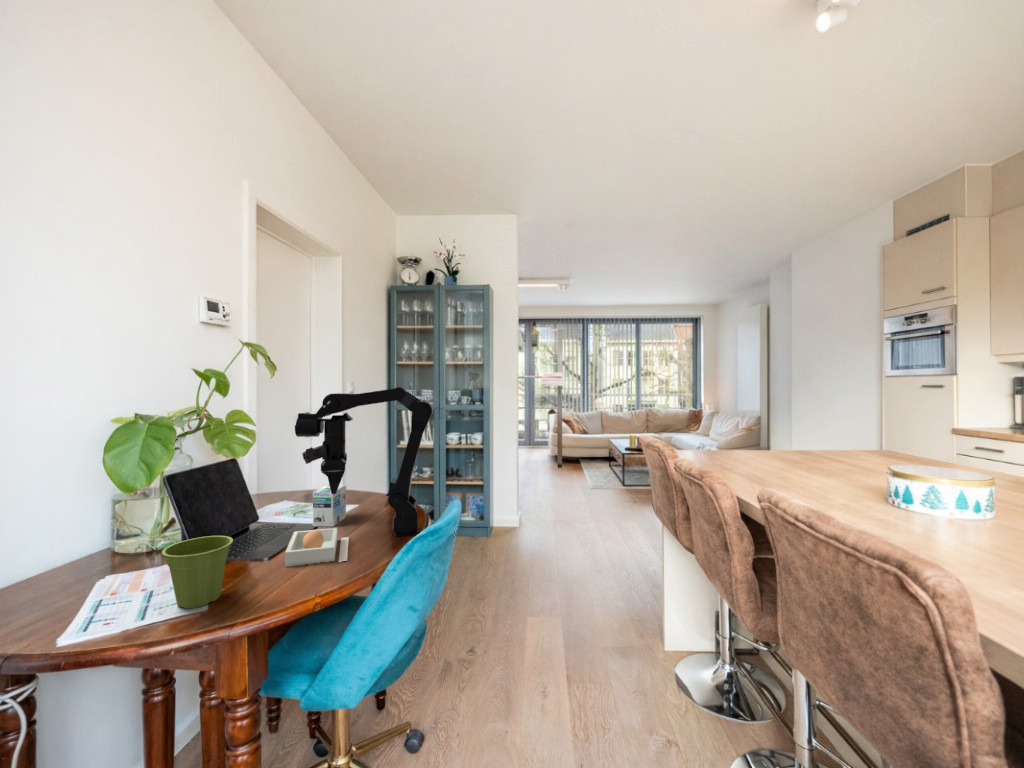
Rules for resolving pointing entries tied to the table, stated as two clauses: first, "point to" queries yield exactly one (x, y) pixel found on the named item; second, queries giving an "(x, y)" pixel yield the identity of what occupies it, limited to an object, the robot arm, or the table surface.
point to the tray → (303, 556)
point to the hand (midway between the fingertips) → (334, 490)
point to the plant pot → (197, 569)
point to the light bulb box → (329, 506)
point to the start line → (343, 549)
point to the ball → (313, 540)
